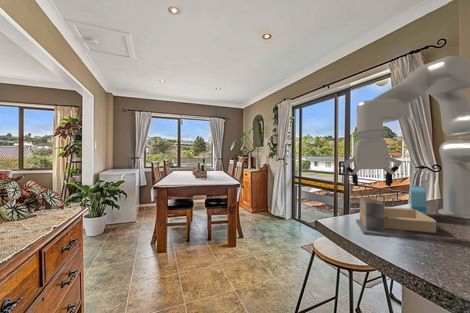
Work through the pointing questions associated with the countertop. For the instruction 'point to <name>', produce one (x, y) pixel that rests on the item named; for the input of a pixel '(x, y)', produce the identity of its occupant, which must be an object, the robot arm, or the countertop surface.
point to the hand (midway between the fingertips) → (371, 185)
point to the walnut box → (372, 214)
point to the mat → (370, 232)
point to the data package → (418, 199)
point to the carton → (408, 220)
